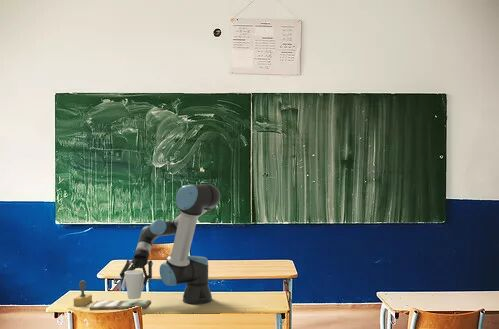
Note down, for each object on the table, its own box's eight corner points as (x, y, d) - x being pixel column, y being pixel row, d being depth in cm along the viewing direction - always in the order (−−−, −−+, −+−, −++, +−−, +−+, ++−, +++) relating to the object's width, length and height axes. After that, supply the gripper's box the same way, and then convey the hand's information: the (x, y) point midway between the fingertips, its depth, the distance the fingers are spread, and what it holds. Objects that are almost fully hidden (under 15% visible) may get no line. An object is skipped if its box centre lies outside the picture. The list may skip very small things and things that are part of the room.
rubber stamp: (81, 300, 292) (81, 278, 292) (92, 301, 292) (91, 278, 291) (73, 305, 282) (73, 282, 282) (84, 306, 282) (83, 282, 282)
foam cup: (139, 300, 275) (138, 274, 275) (121, 299, 277) (121, 273, 277) (146, 295, 285) (146, 270, 285) (129, 294, 287) (129, 269, 286)
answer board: (150, 302, 287) (150, 299, 287) (146, 308, 274) (146, 306, 274) (96, 302, 287) (96, 300, 287) (89, 309, 274) (89, 307, 274)
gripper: (164, 257, 294) (154, 294, 279) (124, 256, 298) (113, 292, 282) (160, 248, 289) (151, 286, 273) (120, 248, 292) (108, 284, 277)
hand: (131, 289), depth 278 cm, fingers closed on foam cup, 9 cm apart
